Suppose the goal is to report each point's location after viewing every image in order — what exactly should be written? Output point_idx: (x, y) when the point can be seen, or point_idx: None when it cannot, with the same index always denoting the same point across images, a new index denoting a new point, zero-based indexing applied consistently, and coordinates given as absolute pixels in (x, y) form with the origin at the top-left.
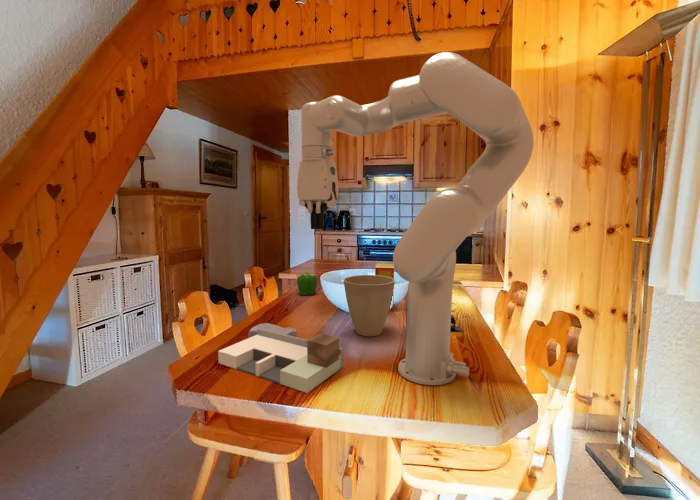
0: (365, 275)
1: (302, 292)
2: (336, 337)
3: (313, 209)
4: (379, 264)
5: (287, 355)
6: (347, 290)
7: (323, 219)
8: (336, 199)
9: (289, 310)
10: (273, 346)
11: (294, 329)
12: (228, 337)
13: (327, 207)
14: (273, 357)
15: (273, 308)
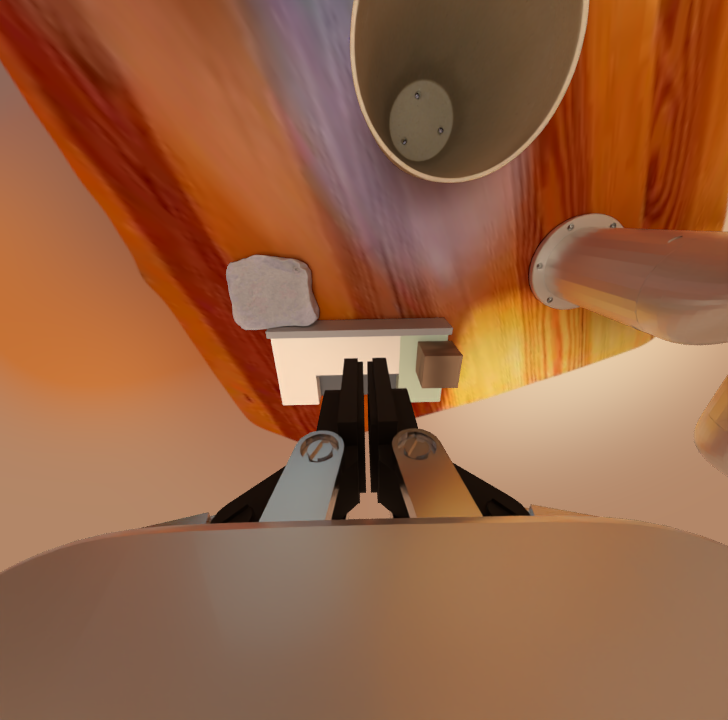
0: None
1: None
2: (458, 356)
3: (340, 510)
4: None
5: None
6: (399, 167)
7: (411, 409)
8: (704, 553)
9: (103, 71)
10: (335, 356)
11: (297, 267)
12: (203, 328)
13: (495, 500)
14: None
15: (48, 87)
